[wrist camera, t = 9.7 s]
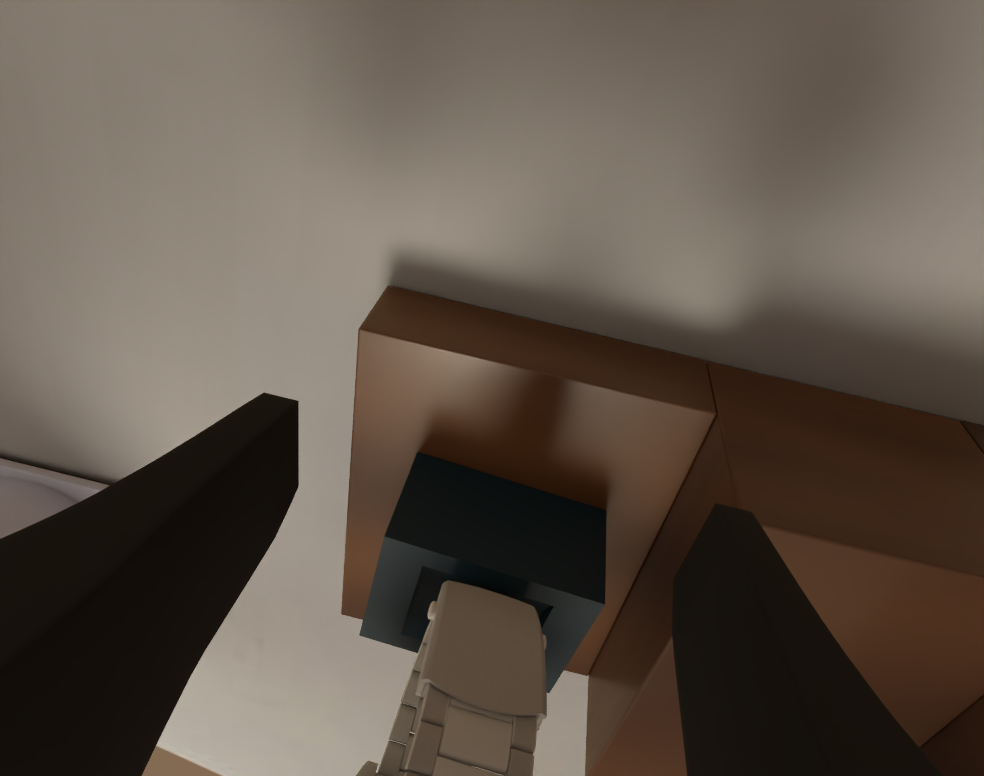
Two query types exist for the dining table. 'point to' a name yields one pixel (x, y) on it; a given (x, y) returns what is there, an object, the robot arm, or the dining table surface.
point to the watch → (480, 615)
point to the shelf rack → (691, 505)
